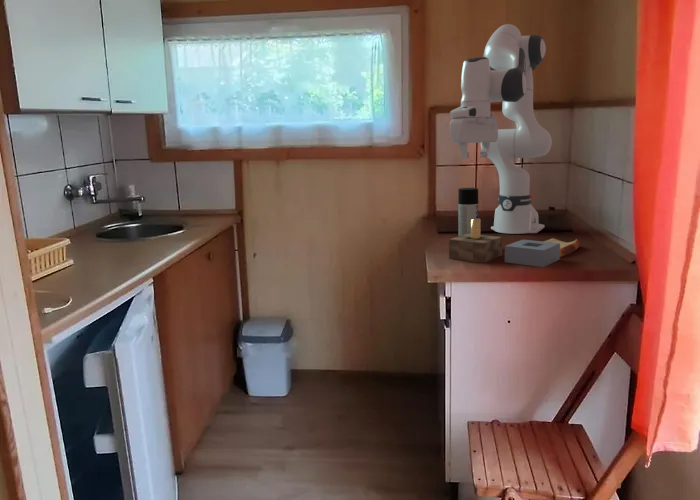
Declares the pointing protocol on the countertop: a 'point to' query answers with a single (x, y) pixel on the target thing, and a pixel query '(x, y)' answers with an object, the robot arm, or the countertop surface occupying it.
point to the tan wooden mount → (475, 248)
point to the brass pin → (475, 229)
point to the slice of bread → (565, 246)
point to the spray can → (467, 209)
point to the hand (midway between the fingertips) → (474, 157)
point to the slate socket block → (532, 253)
